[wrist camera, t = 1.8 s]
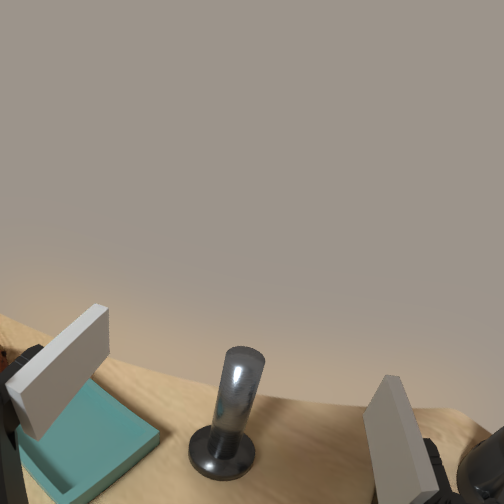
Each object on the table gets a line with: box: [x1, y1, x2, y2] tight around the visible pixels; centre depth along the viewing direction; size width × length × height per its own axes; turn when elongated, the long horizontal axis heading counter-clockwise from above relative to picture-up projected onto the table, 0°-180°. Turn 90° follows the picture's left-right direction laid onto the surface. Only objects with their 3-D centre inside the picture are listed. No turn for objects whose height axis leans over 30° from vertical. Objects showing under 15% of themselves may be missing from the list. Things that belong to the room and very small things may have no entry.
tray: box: [16, 378, 160, 504], centre depth 25 cm, size 14×14×2 cm
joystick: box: [188, 346, 265, 481], centre depth 27 cm, size 7×7×14 cm
